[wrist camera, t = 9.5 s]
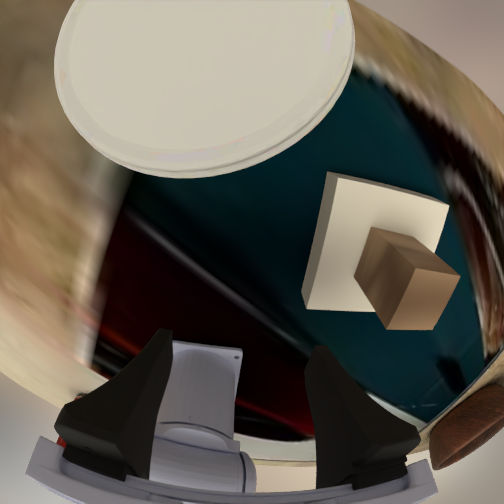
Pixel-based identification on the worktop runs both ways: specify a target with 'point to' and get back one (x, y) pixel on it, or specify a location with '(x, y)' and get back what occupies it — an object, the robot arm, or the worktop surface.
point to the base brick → (361, 235)
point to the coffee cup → (200, 78)
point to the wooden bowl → (467, 426)
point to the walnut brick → (404, 280)
